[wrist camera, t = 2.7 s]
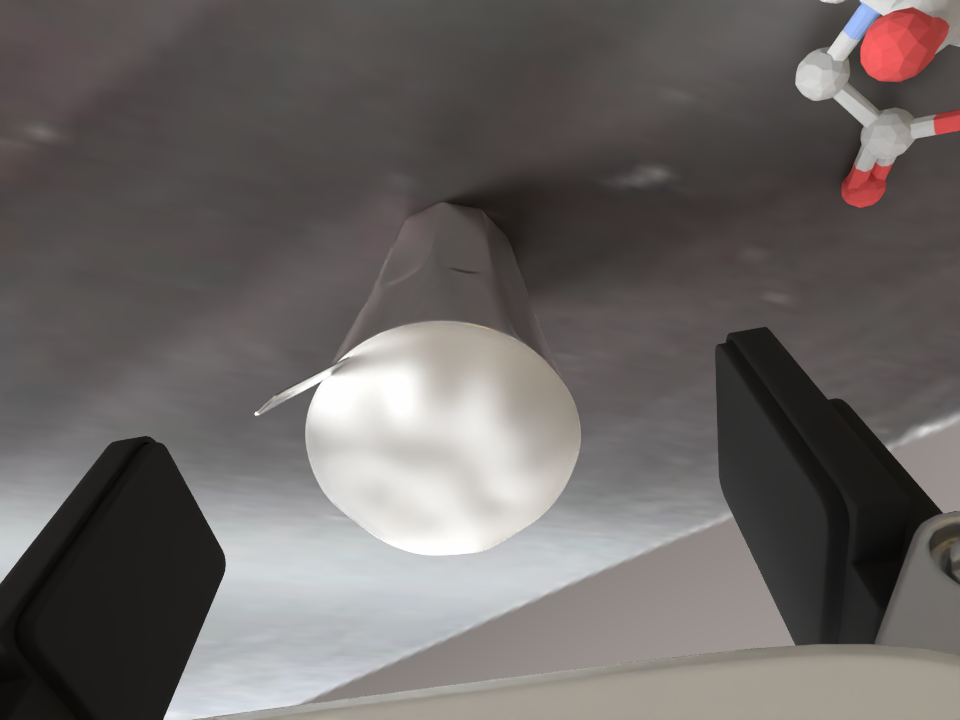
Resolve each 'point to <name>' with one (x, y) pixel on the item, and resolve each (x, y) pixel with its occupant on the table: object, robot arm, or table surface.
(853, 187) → the molecular model
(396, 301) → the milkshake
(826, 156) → the table surface
